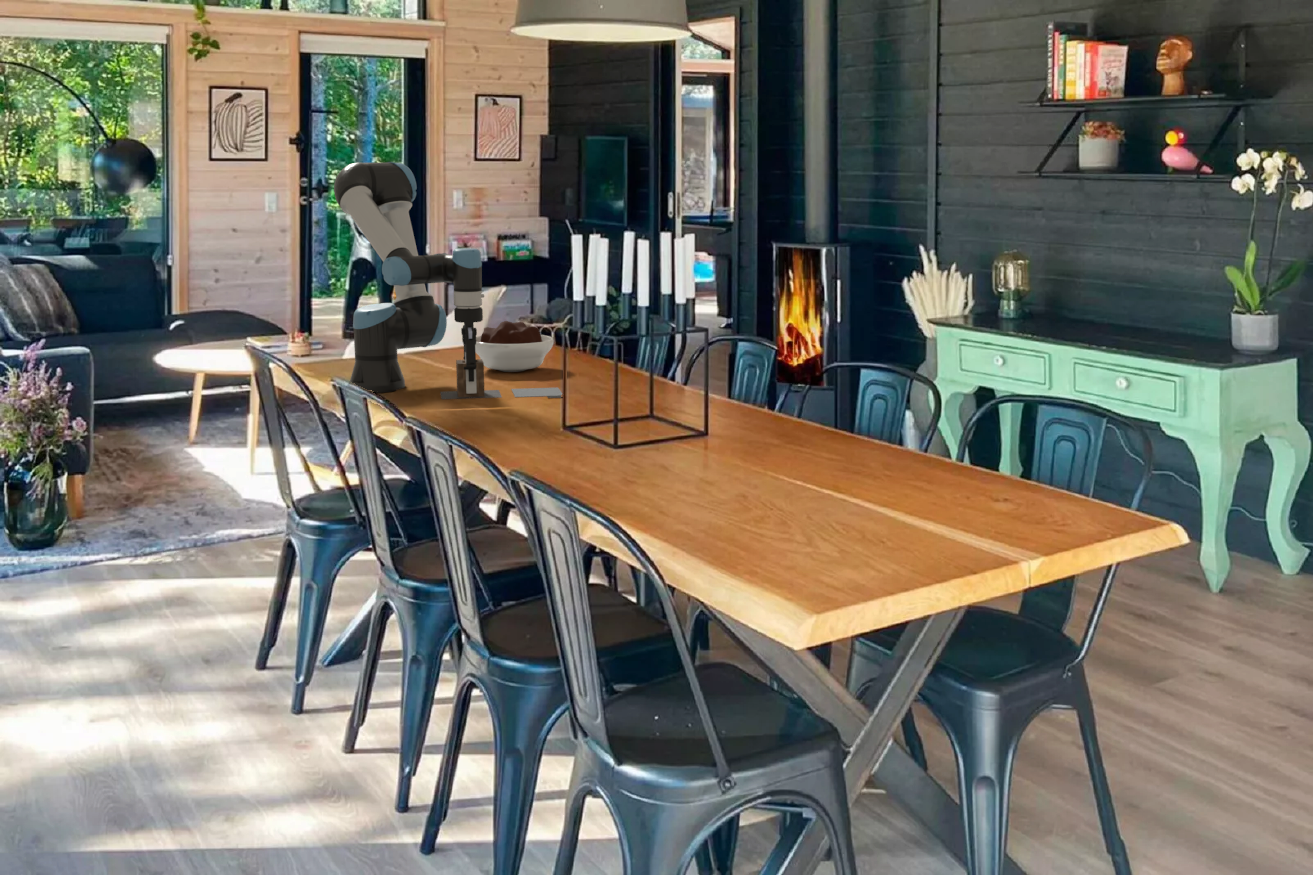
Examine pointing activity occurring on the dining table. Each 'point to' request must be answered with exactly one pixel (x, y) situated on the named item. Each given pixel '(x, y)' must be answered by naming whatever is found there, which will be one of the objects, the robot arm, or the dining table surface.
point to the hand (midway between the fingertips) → (470, 390)
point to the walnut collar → (462, 378)
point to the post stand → (455, 396)
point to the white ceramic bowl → (512, 347)
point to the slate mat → (537, 392)
